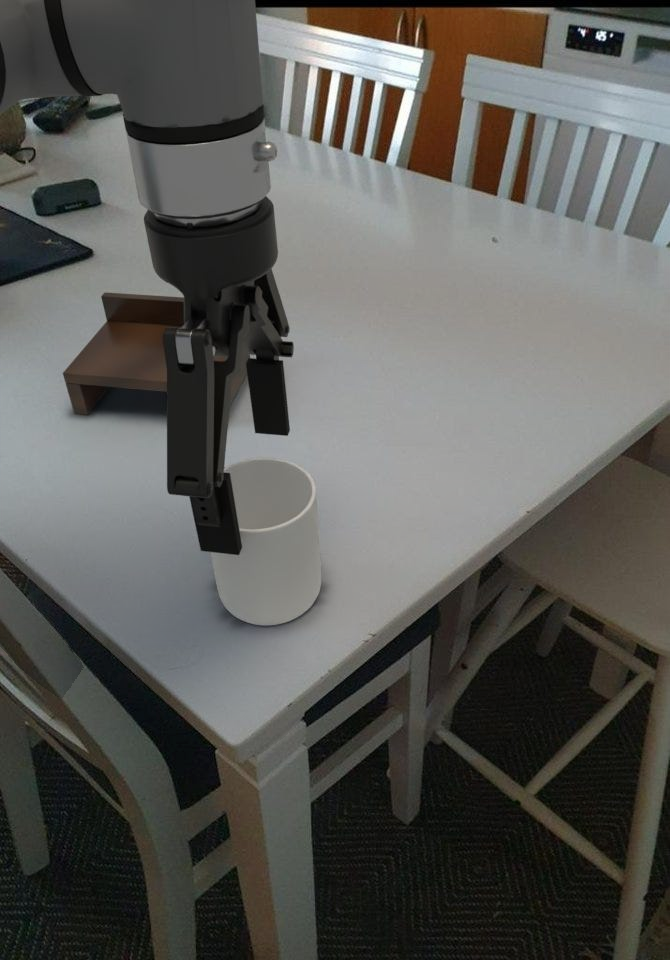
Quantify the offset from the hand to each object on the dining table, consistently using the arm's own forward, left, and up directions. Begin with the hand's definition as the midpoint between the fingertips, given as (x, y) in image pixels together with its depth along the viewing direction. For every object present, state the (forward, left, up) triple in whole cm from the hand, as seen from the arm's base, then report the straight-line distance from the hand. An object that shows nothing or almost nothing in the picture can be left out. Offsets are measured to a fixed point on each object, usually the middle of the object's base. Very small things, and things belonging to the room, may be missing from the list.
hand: (249, 486), depth 60 cm
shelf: (-18, +25, -10) cm, 33 cm away
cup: (0, 0, -10) cm, 10 cm away
